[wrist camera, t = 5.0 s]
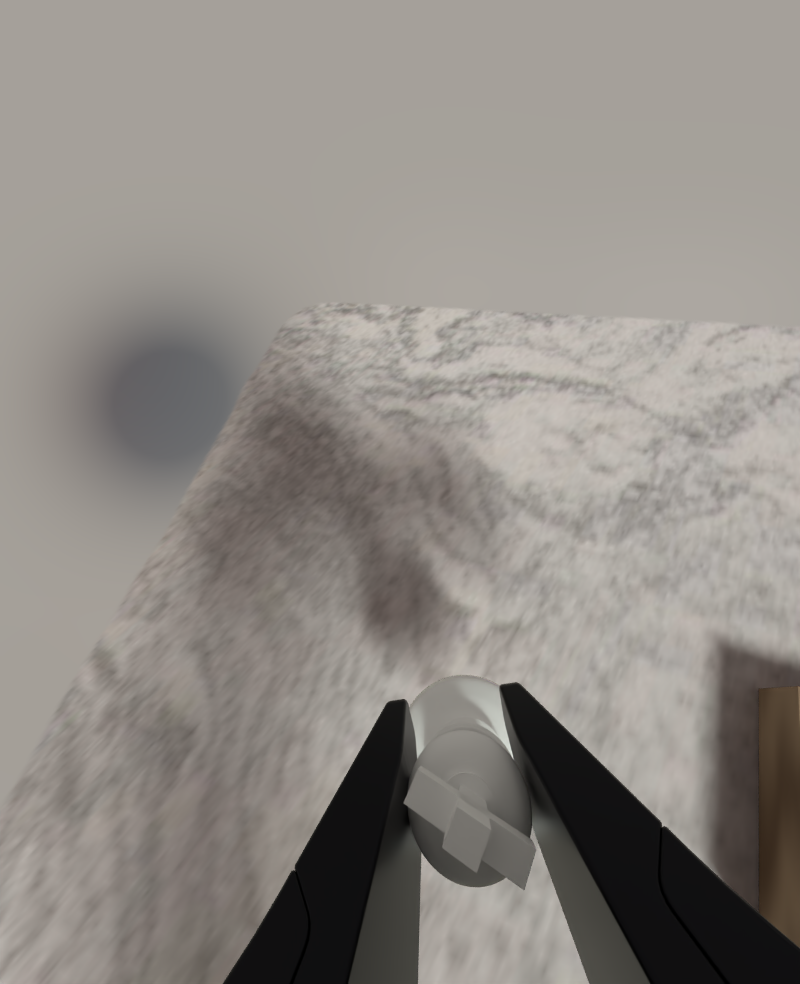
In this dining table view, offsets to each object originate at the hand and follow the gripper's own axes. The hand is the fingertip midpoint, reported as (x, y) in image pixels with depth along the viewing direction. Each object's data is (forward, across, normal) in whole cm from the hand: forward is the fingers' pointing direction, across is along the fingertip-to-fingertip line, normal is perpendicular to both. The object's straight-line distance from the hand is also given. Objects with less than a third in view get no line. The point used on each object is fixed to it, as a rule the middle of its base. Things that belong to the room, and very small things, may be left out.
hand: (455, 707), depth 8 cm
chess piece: (+4, 0, +6) cm, 7 cm away
